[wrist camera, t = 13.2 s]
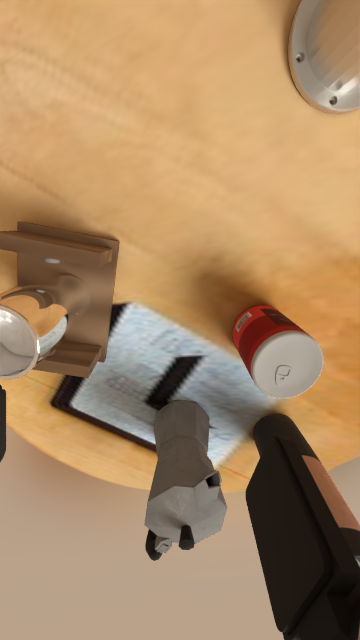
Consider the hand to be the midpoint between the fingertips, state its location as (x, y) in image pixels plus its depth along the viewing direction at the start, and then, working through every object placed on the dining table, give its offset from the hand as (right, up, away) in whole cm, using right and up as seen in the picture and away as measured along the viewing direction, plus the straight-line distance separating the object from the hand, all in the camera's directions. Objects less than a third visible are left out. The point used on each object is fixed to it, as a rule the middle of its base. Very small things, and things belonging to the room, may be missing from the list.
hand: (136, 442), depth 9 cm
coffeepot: (+1, -13, +35) cm, 37 cm away
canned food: (+13, +3, +29) cm, 32 cm away
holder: (-14, +8, +27) cm, 31 cm away
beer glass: (-13, +7, +26) cm, 30 cm away
